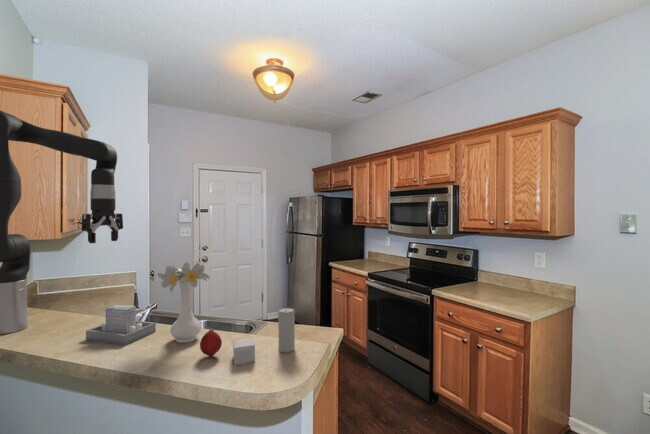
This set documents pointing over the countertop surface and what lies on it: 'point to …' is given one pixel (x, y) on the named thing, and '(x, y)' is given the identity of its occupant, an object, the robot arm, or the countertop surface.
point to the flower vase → (184, 299)
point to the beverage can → (286, 330)
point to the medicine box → (120, 318)
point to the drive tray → (121, 339)
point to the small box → (244, 351)
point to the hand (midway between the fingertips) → (103, 242)
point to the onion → (210, 343)
